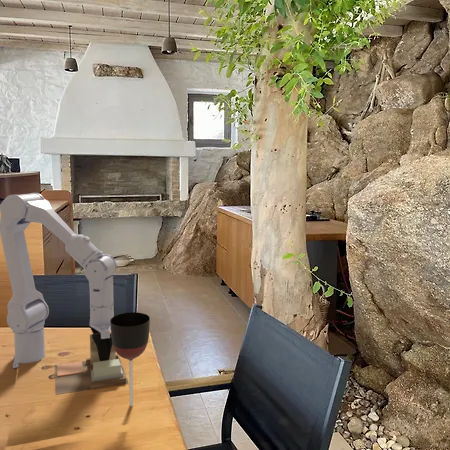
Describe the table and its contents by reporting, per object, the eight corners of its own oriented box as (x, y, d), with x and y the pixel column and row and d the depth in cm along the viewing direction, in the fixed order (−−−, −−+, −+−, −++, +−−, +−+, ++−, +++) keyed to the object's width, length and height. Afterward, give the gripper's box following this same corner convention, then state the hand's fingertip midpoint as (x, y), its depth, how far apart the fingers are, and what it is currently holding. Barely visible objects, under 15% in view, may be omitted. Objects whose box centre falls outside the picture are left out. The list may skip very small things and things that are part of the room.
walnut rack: (55, 368, 115) (54, 360, 114) (118, 359, 120) (118, 351, 120) (55, 398, 100) (55, 389, 100) (128, 387, 106) (128, 378, 105)
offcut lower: (91, 378, 108) (90, 370, 107) (120, 373, 110) (120, 366, 110) (92, 386, 104) (92, 377, 104) (123, 381, 106) (123, 373, 106)
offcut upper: (93, 370, 107) (92, 362, 107) (118, 366, 110) (118, 358, 109) (94, 377, 104) (94, 368, 104) (120, 373, 106) (120, 365, 106)
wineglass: (152, 399, 100) (152, 312, 98) (147, 420, 92) (146, 326, 89) (116, 399, 100) (115, 312, 98) (108, 421, 92) (106, 326, 89)
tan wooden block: (90, 364, 115) (89, 334, 114) (114, 361, 117) (114, 331, 116) (91, 368, 113) (90, 337, 112) (115, 365, 115) (115, 334, 114)
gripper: (122, 311, 108) (123, 365, 109) (114, 294, 121) (115, 343, 123) (91, 314, 105) (93, 369, 107) (86, 297, 119) (88, 346, 120)
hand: (102, 355), depth 115 cm, fingers open, 6 cm apart
